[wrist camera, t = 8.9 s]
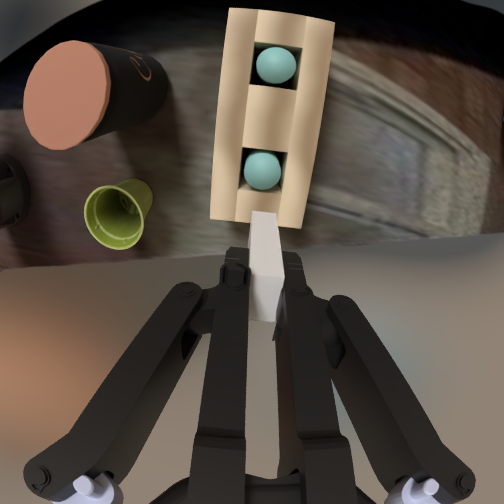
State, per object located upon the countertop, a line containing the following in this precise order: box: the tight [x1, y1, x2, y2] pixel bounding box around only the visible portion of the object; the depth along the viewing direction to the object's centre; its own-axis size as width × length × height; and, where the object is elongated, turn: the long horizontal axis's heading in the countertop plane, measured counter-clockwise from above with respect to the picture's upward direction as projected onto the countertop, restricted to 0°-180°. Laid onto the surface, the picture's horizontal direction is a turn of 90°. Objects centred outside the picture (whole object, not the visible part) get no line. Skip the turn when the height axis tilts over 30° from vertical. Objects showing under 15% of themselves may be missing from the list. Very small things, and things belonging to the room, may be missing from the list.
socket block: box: [210, 8, 335, 229], centre depth 31 cm, size 11×25×9 cm, turn 174°
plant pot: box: [84, 179, 153, 250], centre depth 38 cm, size 9×9×9 cm
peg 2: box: [244, 148, 281, 190], centre depth 33 cm, size 4×4×8 cm
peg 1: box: [256, 47, 296, 86], centre depth 27 cm, size 4×4×8 cm
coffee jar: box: [23, 40, 168, 150], centre depth 25 cm, size 11×11×18 cm
